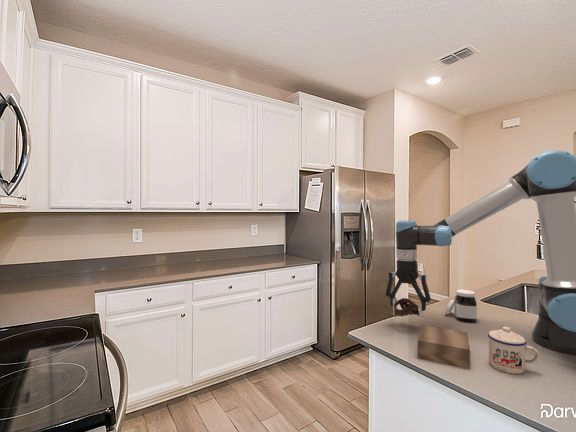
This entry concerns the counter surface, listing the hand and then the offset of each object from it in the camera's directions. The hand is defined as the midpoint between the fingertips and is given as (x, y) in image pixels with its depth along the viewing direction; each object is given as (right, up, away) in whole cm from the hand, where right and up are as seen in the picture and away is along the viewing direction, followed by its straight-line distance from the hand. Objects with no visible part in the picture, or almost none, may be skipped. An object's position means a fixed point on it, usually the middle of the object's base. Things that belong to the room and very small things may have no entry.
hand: (407, 316), depth 116 cm
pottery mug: (0, -1, 0) cm, 1 cm away
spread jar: (+27, -5, +11) cm, 30 cm away
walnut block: (+3, -5, -21) cm, 21 cm away
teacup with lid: (+19, -5, -30) cm, 35 cm away
